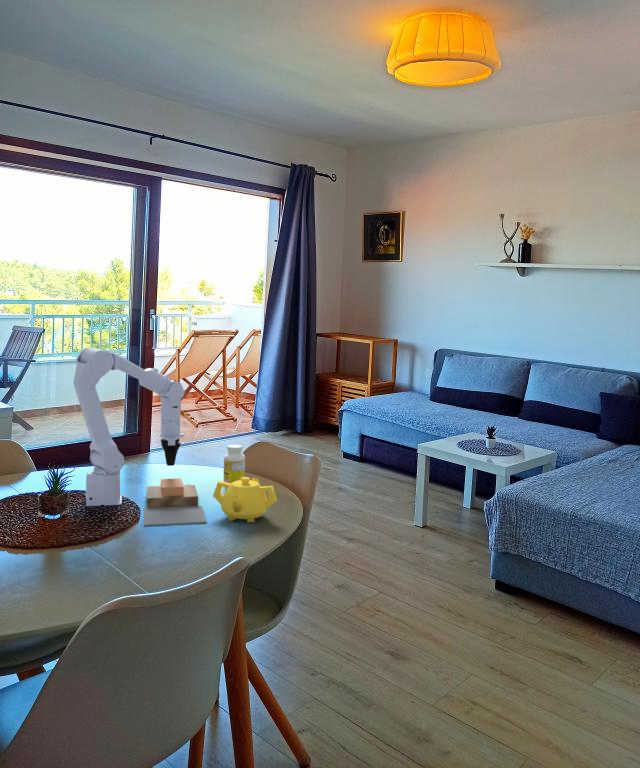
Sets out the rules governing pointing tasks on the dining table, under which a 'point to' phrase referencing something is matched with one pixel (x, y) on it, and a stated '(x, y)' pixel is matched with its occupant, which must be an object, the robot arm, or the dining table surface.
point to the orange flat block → (172, 487)
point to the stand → (171, 497)
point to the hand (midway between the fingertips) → (170, 463)
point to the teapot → (244, 498)
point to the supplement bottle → (234, 464)
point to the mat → (174, 515)
